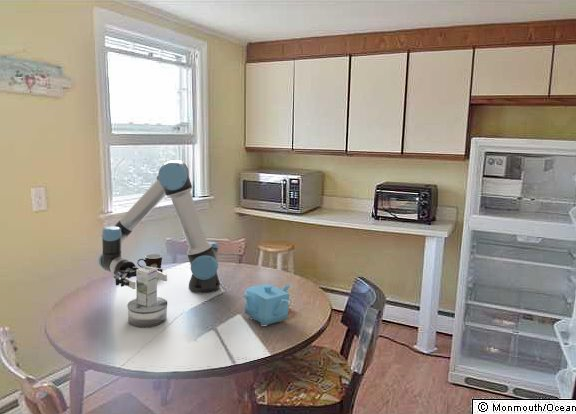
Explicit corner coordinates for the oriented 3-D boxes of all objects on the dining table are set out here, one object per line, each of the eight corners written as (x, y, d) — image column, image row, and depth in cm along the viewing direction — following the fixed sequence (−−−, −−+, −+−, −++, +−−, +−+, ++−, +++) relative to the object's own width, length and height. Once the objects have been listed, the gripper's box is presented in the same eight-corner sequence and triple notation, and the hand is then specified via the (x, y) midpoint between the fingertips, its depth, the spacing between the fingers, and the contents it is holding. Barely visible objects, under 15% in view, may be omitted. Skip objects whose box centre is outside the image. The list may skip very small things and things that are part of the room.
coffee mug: (164, 272, 221) (165, 254, 219) (158, 278, 213) (158, 259, 211) (143, 270, 222) (143, 252, 220) (136, 275, 214) (136, 257, 212)
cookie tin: (162, 310, 175) (162, 294, 174) (171, 324, 163) (171, 308, 161) (124, 315, 168) (124, 299, 167) (130, 331, 155) (130, 313, 154)
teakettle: (248, 309, 182) (249, 277, 179) (290, 312, 180) (292, 280, 178) (239, 328, 163) (241, 292, 161) (287, 332, 162) (289, 297, 159)
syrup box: (157, 302, 166) (157, 267, 163) (147, 307, 160) (147, 271, 158) (146, 299, 168) (146, 265, 165) (135, 304, 162) (135, 269, 160)
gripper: (149, 270, 184) (177, 283, 171) (93, 283, 166) (120, 298, 152) (149, 254, 183) (178, 266, 170) (93, 265, 164) (120, 279, 151)
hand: (150, 281), depth 161 cm, fingers open, 13 cm apart
